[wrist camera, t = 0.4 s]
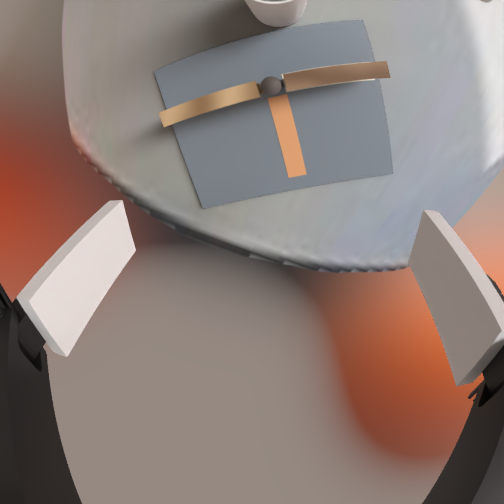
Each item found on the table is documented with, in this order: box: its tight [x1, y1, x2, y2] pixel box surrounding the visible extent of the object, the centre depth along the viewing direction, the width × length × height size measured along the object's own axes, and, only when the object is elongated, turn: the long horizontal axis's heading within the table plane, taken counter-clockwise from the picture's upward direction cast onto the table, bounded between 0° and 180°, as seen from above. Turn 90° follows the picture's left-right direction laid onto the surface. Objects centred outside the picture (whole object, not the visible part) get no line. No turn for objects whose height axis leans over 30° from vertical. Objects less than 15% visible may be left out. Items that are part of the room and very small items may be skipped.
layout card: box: [154, 20, 393, 209], centre depth 31 cm, size 21×27×1 cm
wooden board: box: [159, 81, 264, 127], centre depth 28 cm, size 11×2×6 cm, turn 105°
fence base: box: [261, 61, 390, 95], centre depth 25 cm, size 2×13×6 cm, turn 105°
